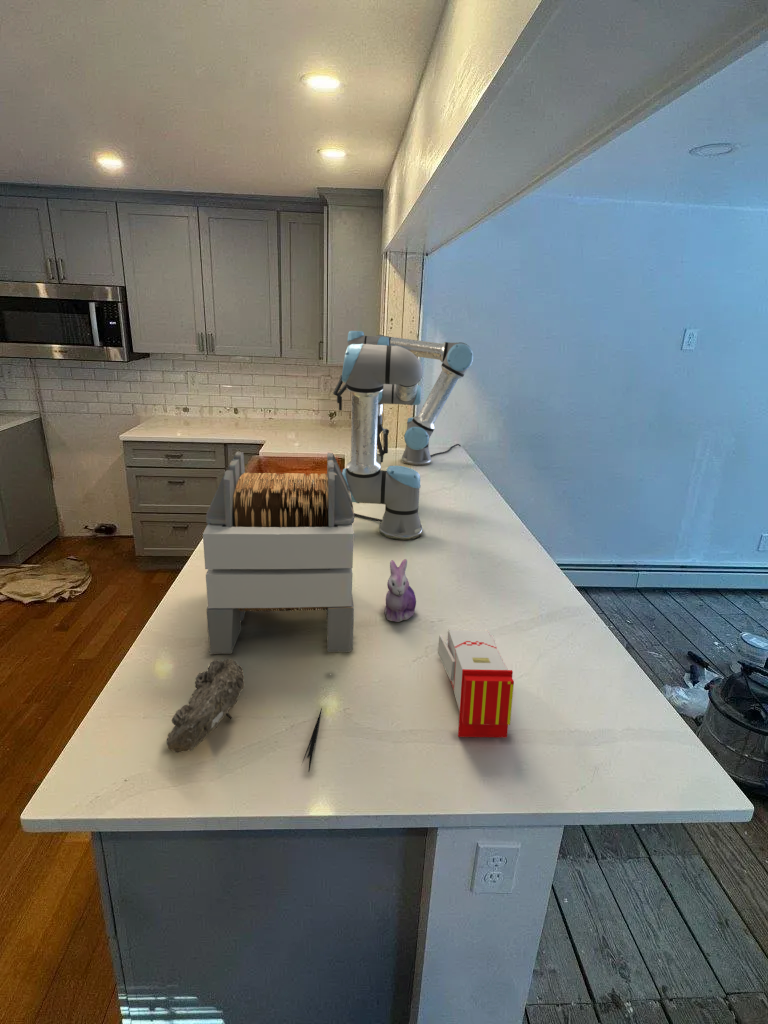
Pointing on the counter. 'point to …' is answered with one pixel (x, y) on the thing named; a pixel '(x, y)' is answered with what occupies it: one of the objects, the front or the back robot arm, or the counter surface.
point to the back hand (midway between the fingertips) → (353, 409)
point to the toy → (478, 682)
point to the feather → (313, 740)
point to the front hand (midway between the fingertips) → (371, 470)
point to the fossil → (206, 705)
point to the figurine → (399, 594)
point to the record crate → (279, 550)
